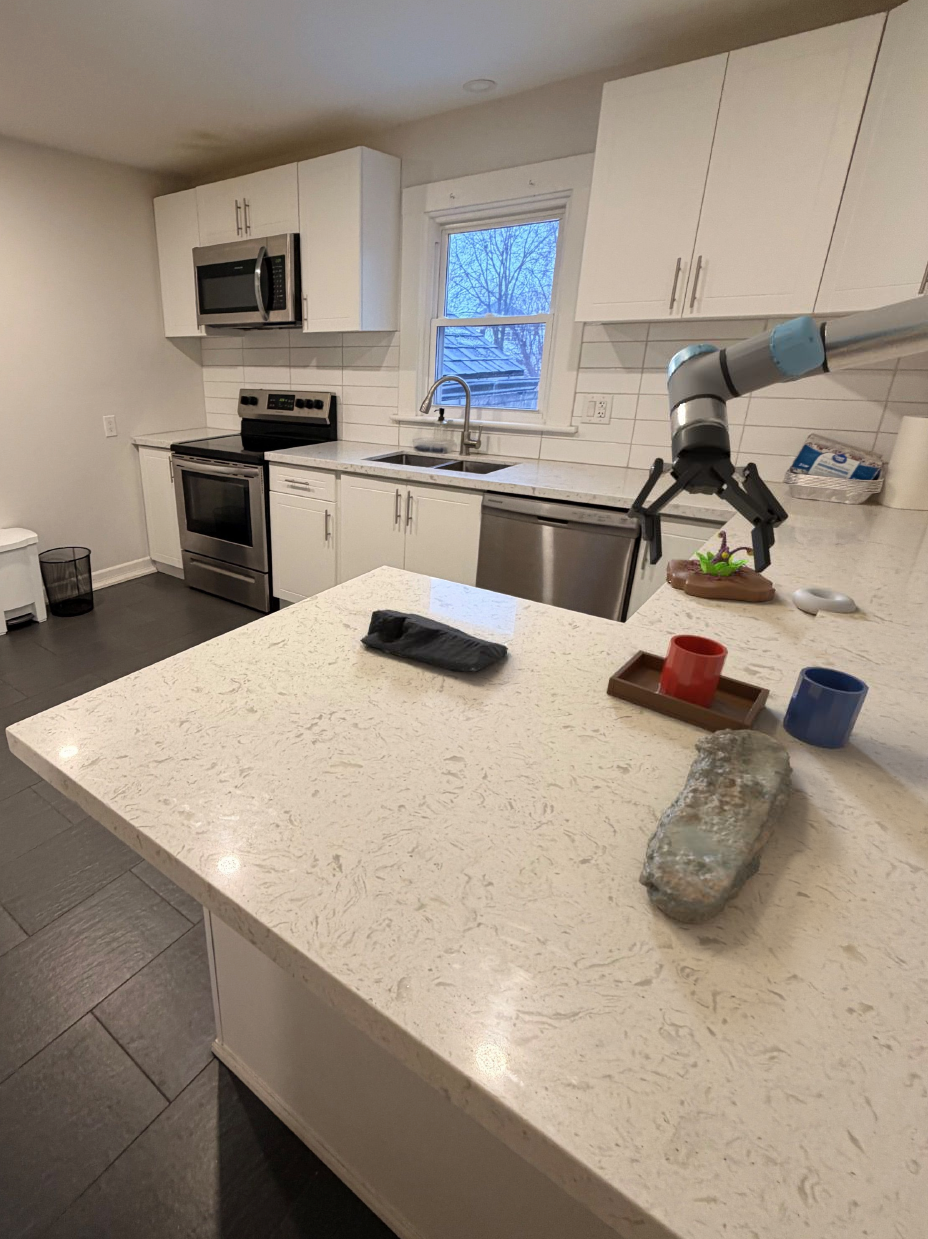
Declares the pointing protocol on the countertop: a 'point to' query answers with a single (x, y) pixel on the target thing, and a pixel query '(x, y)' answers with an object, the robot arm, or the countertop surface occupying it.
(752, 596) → the plant
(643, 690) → the tray
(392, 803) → the countertop surface
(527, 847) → the countertop surface
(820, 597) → the donut
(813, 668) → the blue cup
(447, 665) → the folded black pouch
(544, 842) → the countertop surface
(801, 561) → the countertop surface
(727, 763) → the elongated rock
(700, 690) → the red cup
